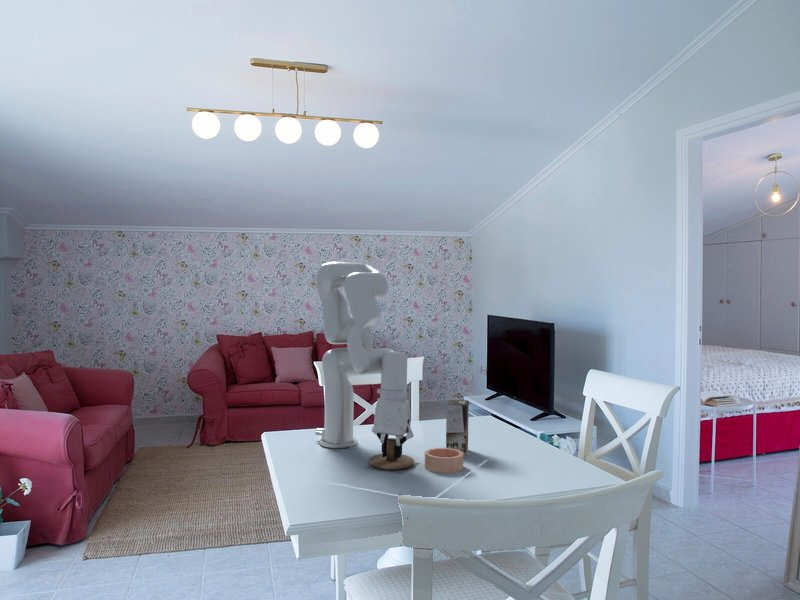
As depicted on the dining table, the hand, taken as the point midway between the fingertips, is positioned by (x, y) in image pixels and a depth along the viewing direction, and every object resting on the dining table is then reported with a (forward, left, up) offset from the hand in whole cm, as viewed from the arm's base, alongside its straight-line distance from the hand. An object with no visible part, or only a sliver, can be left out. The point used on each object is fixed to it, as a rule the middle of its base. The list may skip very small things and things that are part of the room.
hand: (391, 456), depth 183 cm
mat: (+1, 0, -3) cm, 3 cm away
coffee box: (+11, +24, -3) cm, 26 cm away
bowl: (+14, +6, -3) cm, 15 cm away
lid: (0, 0, -2) cm, 2 cm away
